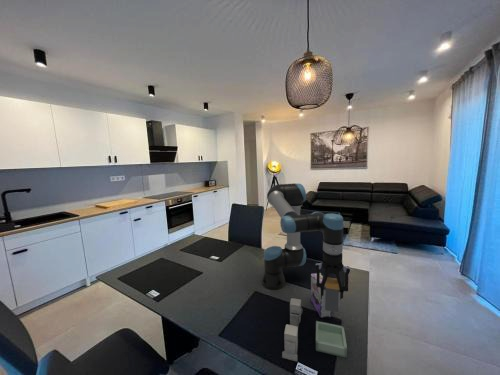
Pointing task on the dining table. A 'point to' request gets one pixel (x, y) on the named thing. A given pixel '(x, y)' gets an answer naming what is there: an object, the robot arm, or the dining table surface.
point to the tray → (331, 339)
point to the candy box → (318, 297)
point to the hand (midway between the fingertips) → (331, 303)
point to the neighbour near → (291, 335)
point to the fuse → (331, 294)
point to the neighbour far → (296, 306)
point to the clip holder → (290, 346)
